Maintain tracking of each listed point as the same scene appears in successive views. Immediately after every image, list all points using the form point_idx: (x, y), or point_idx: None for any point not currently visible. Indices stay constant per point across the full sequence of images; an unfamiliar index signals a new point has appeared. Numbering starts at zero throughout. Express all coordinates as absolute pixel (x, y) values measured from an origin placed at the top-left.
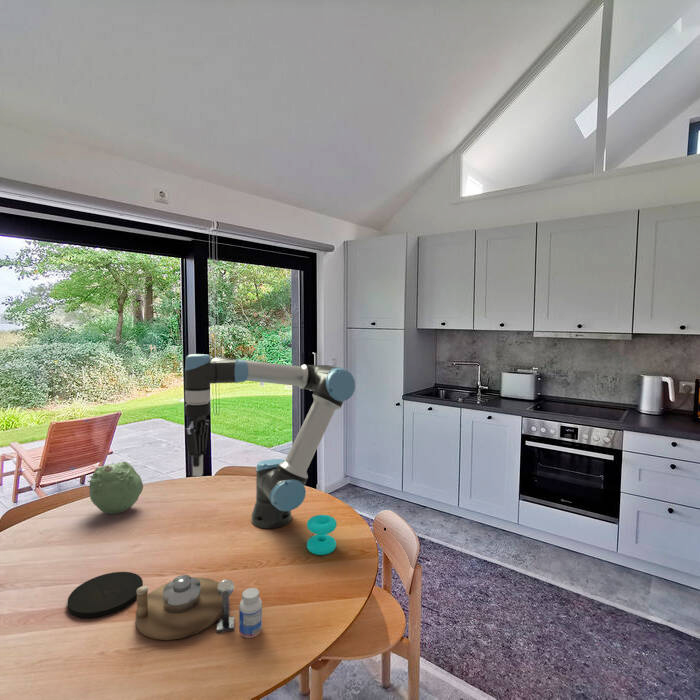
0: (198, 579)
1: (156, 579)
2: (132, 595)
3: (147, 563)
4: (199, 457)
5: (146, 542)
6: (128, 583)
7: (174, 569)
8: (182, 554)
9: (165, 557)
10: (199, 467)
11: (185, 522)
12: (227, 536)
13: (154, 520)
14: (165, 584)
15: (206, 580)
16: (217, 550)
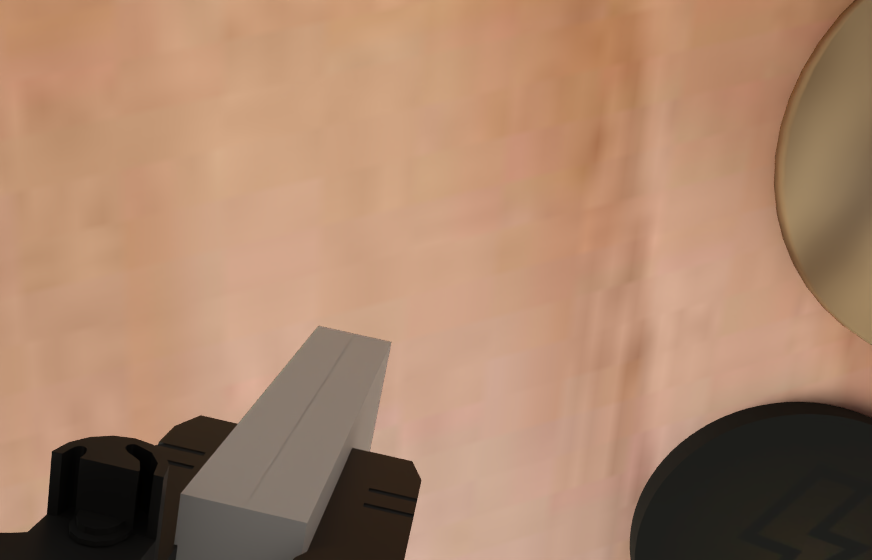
0: (814, 127)
1: (676, 366)
2: (866, 434)
3: (515, 453)
4: (309, 537)
5: None
6: (751, 485)
7: (591, 301)
8: (437, 298)
9: (462, 380)
10: (359, 423)
11: (62, 374)
12: (233, 71)
13: None
14: (829, 299)
15: (834, 76)
16: (405, 101)
